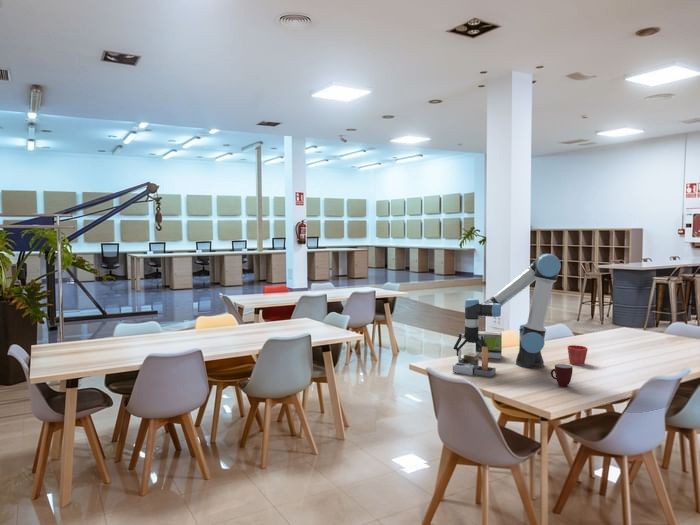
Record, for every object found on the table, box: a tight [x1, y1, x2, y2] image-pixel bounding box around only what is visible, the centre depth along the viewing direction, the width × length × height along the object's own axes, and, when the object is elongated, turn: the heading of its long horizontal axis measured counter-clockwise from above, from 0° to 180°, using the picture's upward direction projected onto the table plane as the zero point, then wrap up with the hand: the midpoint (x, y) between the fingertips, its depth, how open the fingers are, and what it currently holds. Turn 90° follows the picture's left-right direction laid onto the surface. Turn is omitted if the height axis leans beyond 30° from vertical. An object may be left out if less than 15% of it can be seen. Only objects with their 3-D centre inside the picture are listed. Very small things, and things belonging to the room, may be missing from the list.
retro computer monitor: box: [475, 330, 503, 359], centre depth 317 cm, size 15×10×15 cm
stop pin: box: [481, 347, 489, 371], centre depth 276 cm, size 3×3×14 cm
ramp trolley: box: [452, 357, 480, 376], centre depth 283 cm, size 11×13×6 cm
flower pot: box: [567, 344, 588, 366], centre depth 300 cm, size 11×11×10 cm
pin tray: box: [473, 365, 497, 378], centre depth 276 cm, size 9×9×3 cm
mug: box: [550, 363, 573, 388], centre depth 256 cm, size 11×8×10 cm
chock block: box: [463, 352, 479, 364], centre depth 293 cm, size 6×8×7 cm
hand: (471, 363), depth 293 cm, fingers open, 13 cm apart
